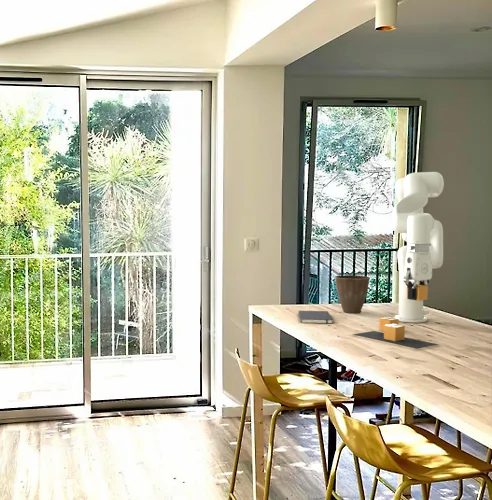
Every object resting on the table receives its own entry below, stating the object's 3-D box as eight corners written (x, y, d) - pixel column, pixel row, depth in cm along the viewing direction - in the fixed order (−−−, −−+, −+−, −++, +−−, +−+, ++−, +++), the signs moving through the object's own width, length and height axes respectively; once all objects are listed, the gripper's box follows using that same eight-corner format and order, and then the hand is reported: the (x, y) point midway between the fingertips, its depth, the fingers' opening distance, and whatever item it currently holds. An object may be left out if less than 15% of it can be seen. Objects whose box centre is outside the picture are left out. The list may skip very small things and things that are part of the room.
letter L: (415, 297, 237) (415, 283, 237) (427, 299, 233) (427, 285, 233) (406, 299, 235) (407, 284, 234) (418, 300, 230) (419, 286, 230)
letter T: (387, 329, 254) (388, 316, 254) (398, 331, 250) (398, 318, 249) (379, 330, 252) (379, 317, 251) (389, 333, 247) (390, 319, 247)
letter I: (392, 337, 238) (393, 323, 237) (404, 339, 233) (404, 325, 233) (383, 338, 235) (383, 324, 235) (395, 341, 231) (395, 326, 231)
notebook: (298, 313, 291) (301, 322, 270) (298, 310, 290) (301, 319, 270) (327, 314, 288) (332, 323, 267) (327, 311, 288) (333, 319, 267)
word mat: (374, 332, 249) (374, 330, 249) (439, 345, 225) (439, 344, 225) (352, 335, 243) (352, 334, 243) (416, 350, 219) (416, 348, 219)
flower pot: (332, 308, 303) (332, 274, 302) (365, 309, 301) (365, 275, 300) (337, 314, 288) (337, 278, 287) (372, 314, 286) (372, 278, 285)
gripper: (412, 250, 225) (411, 302, 226) (442, 248, 234) (440, 297, 235) (393, 249, 231) (392, 299, 233) (423, 246, 240) (422, 295, 241)
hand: (417, 298), depth 234 cm, fingers closed on letter L, 5 cm apart
